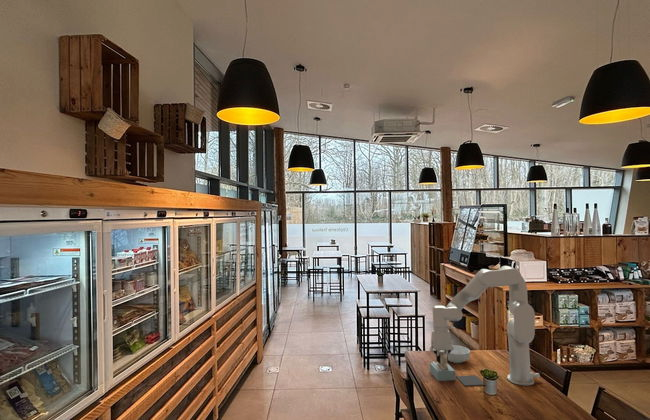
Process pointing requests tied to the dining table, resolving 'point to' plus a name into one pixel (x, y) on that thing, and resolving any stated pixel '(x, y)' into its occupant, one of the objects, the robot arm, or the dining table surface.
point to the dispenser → (442, 372)
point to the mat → (470, 380)
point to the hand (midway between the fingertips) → (442, 362)
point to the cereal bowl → (459, 354)
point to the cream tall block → (442, 360)
